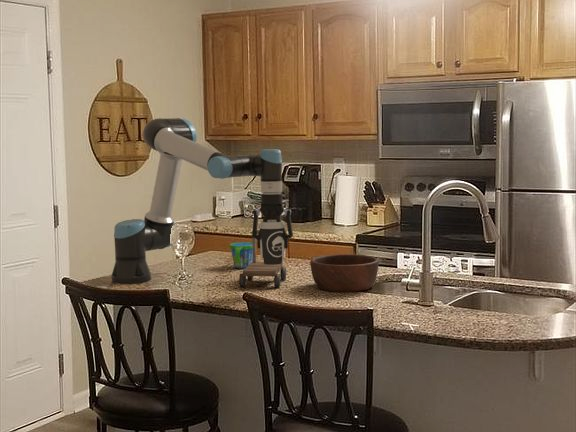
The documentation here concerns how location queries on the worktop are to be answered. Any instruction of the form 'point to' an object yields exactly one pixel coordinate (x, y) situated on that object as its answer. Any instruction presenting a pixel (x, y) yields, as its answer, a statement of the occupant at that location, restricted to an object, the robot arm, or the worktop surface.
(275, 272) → the trolley
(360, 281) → the wooden bowl
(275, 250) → the coffee cup
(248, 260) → the snack cup
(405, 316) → the worktop surface
